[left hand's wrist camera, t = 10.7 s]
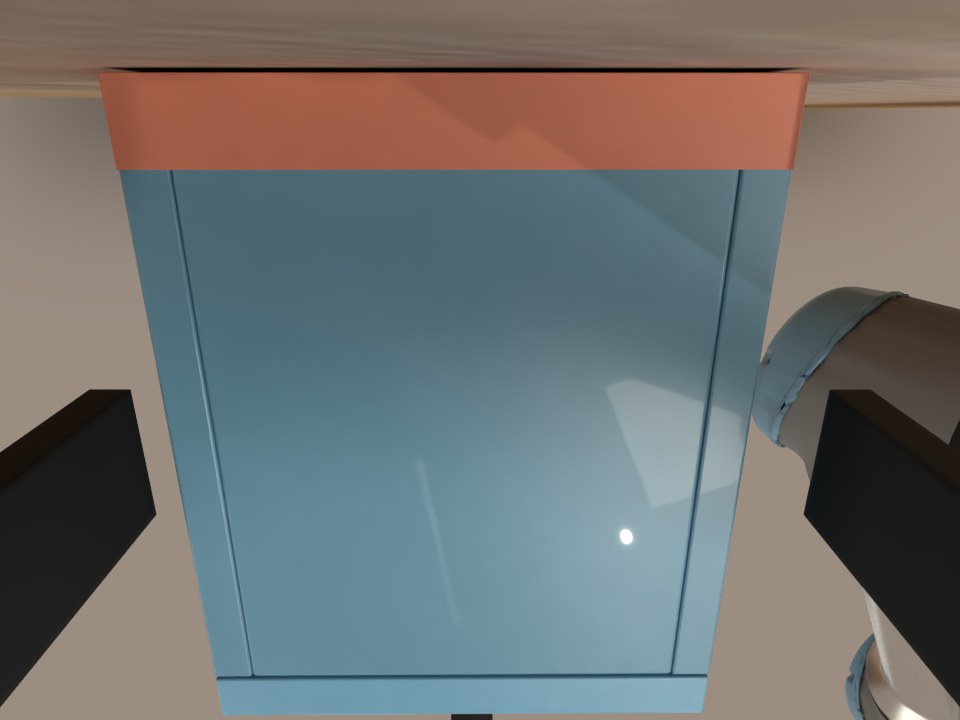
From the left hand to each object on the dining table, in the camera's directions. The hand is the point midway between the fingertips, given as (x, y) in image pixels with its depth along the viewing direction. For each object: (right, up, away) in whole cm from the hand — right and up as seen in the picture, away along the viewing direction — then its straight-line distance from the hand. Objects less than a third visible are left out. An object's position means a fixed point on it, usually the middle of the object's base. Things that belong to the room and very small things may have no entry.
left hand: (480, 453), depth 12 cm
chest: (0, +8, +4) cm, 9 cm away
